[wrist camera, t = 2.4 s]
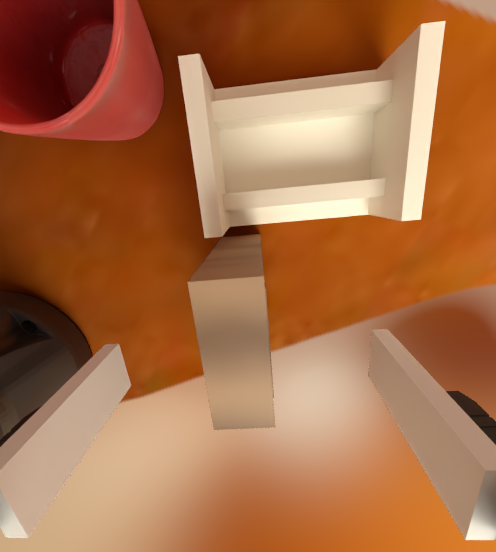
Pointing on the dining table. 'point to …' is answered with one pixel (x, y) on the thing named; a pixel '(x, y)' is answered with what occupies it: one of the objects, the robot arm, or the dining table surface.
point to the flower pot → (77, 69)
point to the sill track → (315, 140)
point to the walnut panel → (234, 333)
